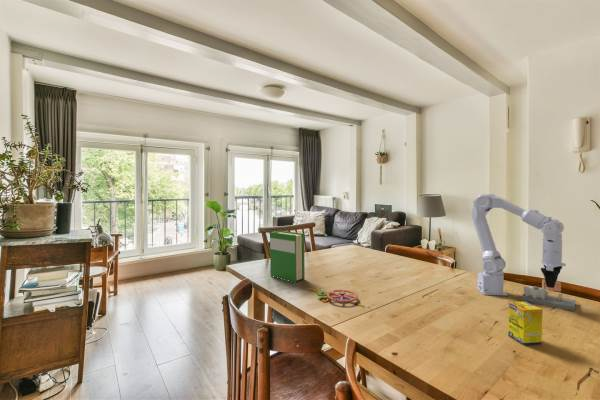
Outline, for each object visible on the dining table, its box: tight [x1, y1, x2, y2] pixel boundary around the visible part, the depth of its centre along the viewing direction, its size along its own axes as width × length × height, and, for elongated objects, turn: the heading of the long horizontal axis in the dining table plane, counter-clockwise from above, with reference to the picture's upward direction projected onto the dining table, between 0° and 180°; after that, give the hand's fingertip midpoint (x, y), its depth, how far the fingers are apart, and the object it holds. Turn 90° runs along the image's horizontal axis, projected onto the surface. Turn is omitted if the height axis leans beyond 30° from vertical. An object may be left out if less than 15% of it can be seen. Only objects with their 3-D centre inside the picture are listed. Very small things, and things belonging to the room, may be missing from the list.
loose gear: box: [541, 278, 562, 292], centre depth 115 cm, size 6×6×3 cm
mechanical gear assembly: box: [307, 287, 365, 308], centre depth 127 cm, size 30×4×15 cm
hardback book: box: [269, 230, 306, 283], centre depth 154 cm, size 18×7×24 cm, turn 50°
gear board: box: [521, 285, 577, 312], centre depth 119 cm, size 16×10×5 cm, turn 45°
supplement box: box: [507, 301, 544, 346], centre depth 90 cm, size 6×6×11 cm
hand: (551, 285), depth 115 cm, fingers closed on loose gear, 6 cm apart
